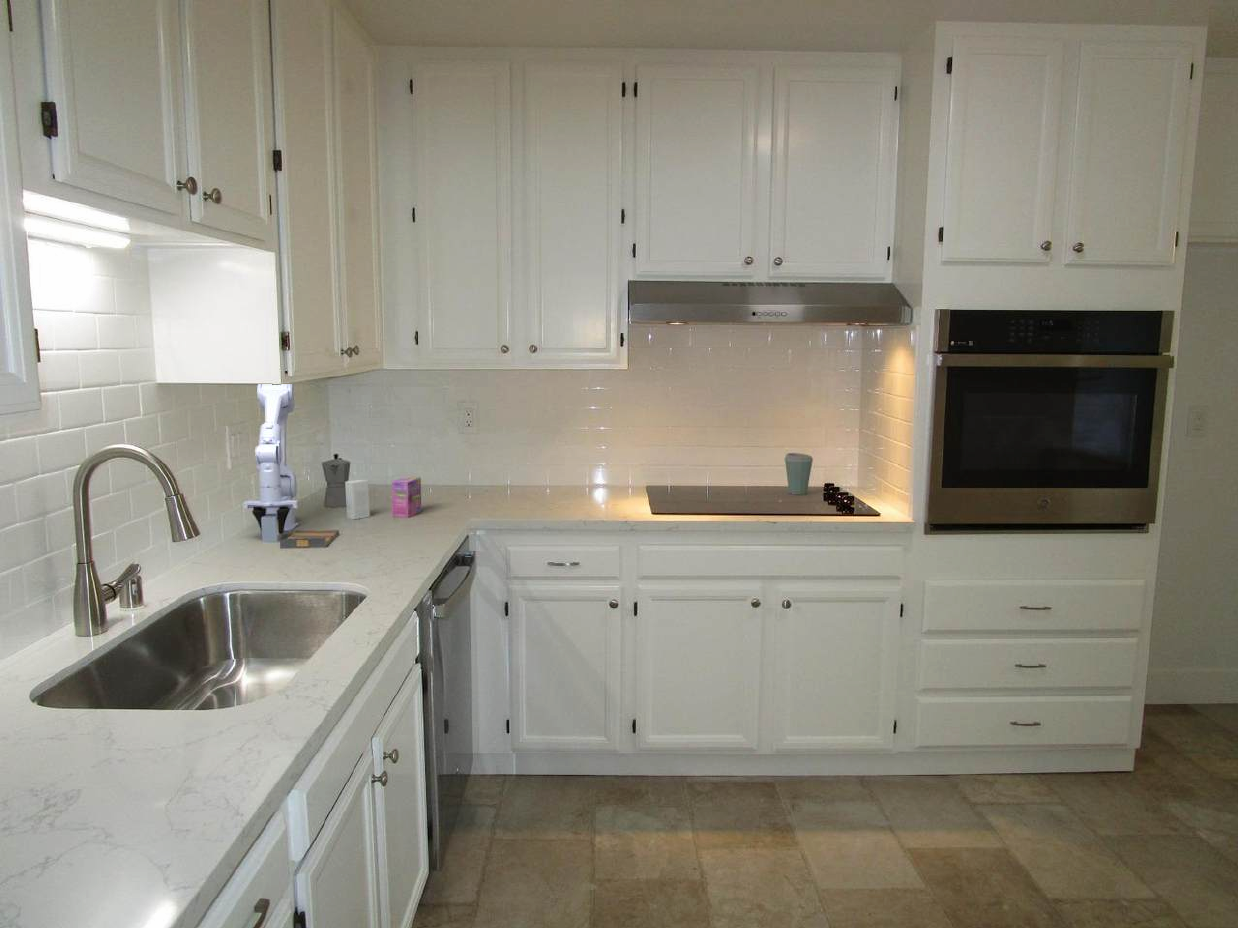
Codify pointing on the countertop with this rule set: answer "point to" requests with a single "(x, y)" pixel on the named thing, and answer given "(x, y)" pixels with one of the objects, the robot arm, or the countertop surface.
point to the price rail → (302, 542)
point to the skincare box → (357, 499)
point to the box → (406, 497)
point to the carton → (270, 528)
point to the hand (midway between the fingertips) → (272, 533)
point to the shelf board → (316, 534)
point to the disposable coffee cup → (798, 472)
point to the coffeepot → (336, 481)
